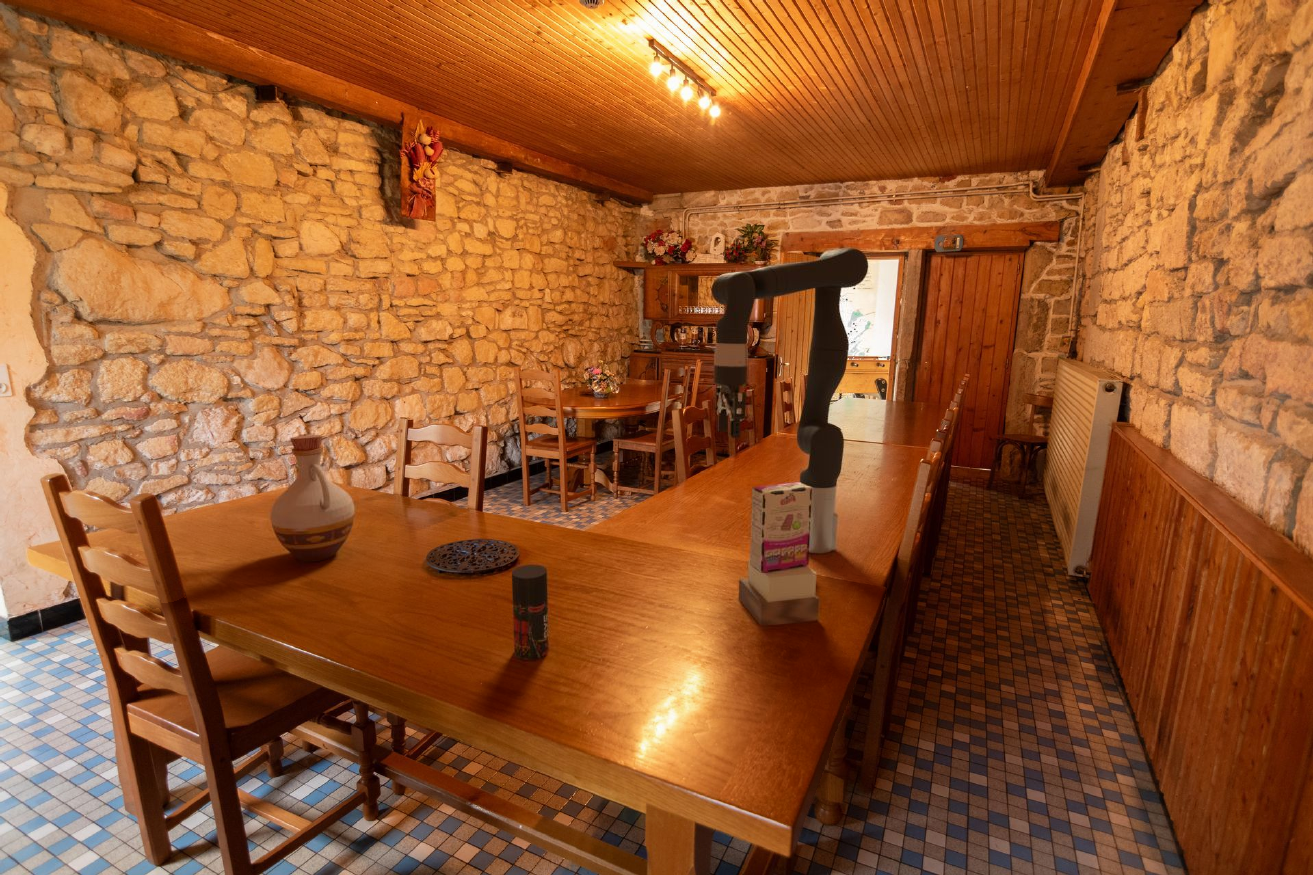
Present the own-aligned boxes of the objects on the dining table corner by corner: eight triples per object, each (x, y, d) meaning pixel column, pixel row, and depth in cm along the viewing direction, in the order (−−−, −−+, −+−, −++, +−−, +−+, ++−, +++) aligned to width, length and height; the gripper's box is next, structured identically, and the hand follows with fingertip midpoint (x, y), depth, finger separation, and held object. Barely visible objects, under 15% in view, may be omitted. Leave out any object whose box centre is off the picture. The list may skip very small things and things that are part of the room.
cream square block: (791, 576, 130) (792, 554, 129) (815, 597, 121) (816, 573, 120) (747, 581, 128) (748, 558, 127) (768, 602, 118) (769, 577, 117)
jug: (372, 557, 150) (363, 436, 145) (291, 578, 137) (278, 447, 132) (341, 537, 163) (332, 426, 158) (265, 555, 150) (251, 435, 145)
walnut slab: (790, 595, 133) (792, 574, 132) (817, 621, 121) (819, 598, 120) (738, 600, 130) (739, 578, 129) (760, 628, 118) (761, 603, 117)
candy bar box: (794, 557, 127) (799, 480, 124) (809, 566, 123) (814, 487, 120) (747, 564, 123) (751, 485, 120) (761, 574, 119) (764, 492, 116)
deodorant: (516, 643, 111) (514, 564, 108) (550, 642, 111) (548, 564, 109) (512, 661, 105) (509, 578, 102) (547, 659, 105) (545, 577, 103)
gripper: (758, 365, 133) (755, 439, 136) (735, 361, 146) (733, 428, 149) (725, 366, 131) (722, 440, 134) (705, 361, 145) (703, 429, 148)
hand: (728, 434), depth 142 cm, fingers open, 8 cm apart
